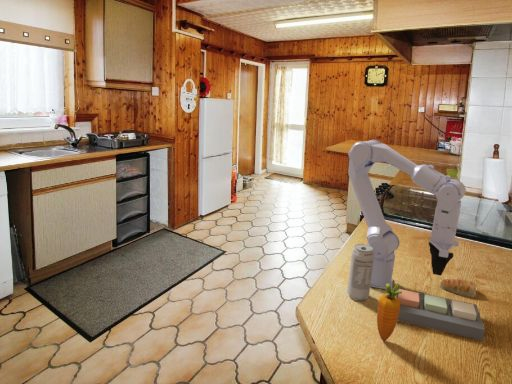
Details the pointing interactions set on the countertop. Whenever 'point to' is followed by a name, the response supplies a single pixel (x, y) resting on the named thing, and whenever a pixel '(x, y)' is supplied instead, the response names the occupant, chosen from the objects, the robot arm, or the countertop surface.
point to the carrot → (388, 312)
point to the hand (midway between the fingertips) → (436, 271)
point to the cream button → (463, 310)
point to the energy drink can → (360, 272)
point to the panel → (442, 319)
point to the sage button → (435, 304)
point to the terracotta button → (409, 298)
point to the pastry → (459, 287)
